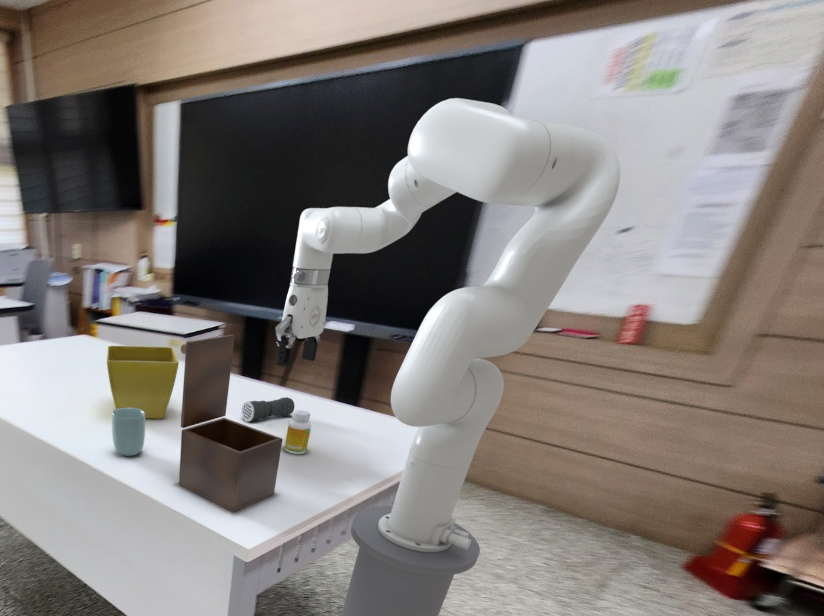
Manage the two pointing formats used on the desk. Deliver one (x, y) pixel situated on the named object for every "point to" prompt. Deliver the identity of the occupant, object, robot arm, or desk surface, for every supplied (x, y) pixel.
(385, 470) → the desk surface
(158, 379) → the flower pot
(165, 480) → the desk surface
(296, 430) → the supplement bottle
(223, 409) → the lid
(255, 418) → the flashlight
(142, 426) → the cup
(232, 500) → the chest
